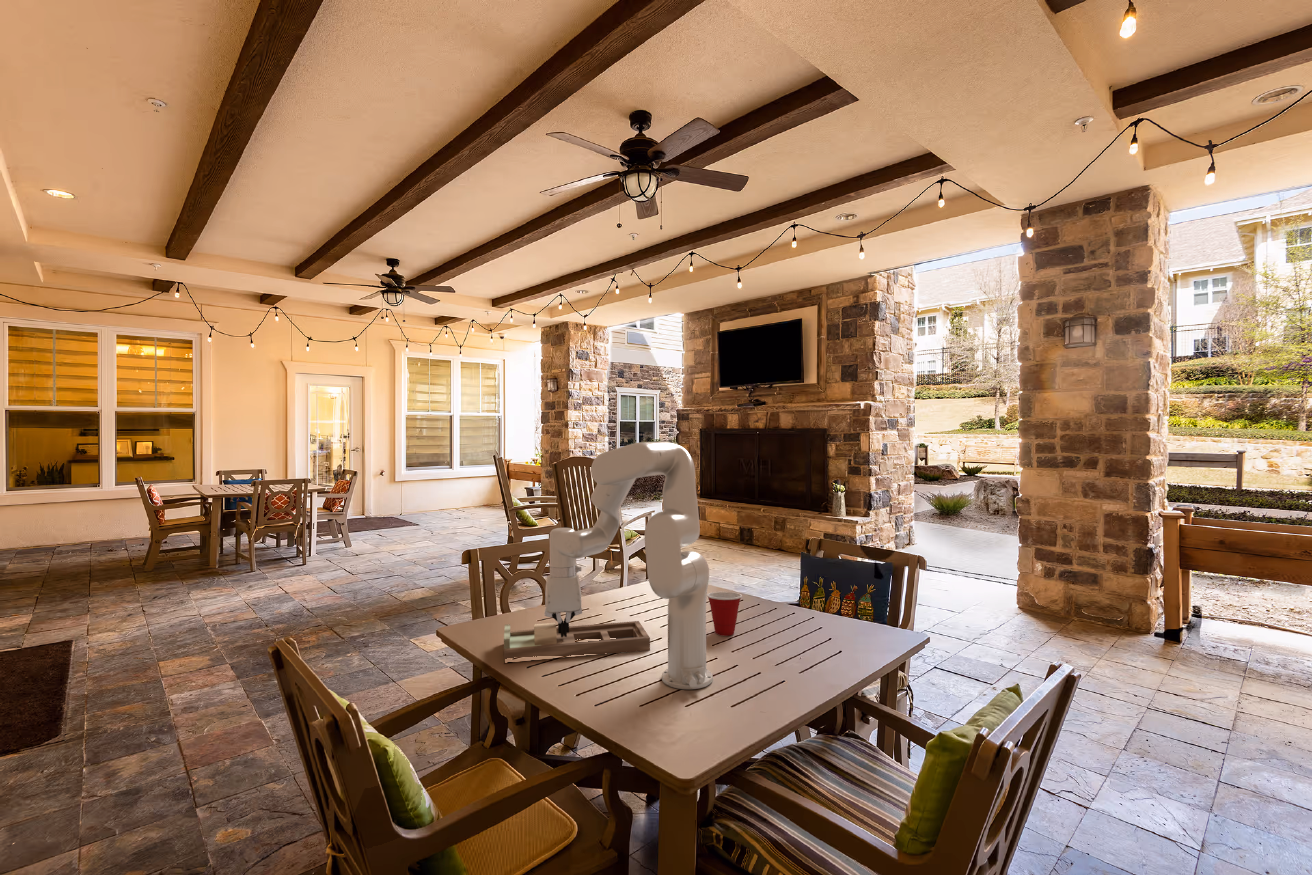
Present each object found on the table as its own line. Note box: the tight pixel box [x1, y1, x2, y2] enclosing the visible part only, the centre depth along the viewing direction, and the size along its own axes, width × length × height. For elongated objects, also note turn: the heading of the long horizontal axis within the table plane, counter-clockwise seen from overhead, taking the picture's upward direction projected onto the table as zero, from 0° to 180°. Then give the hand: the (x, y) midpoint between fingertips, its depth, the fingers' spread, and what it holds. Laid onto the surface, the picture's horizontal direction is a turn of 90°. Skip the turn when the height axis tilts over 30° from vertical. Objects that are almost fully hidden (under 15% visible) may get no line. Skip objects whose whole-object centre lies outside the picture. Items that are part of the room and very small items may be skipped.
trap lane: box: [503, 620, 651, 660], centre depth 170 cm, size 16×40×6 cm, turn 103°
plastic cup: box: [706, 591, 743, 637], centre depth 182 cm, size 11×11×12 cm
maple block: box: [533, 622, 557, 645], centre depth 168 cm, size 6×6×4 cm
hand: (563, 635), depth 170 cm, fingers closed
